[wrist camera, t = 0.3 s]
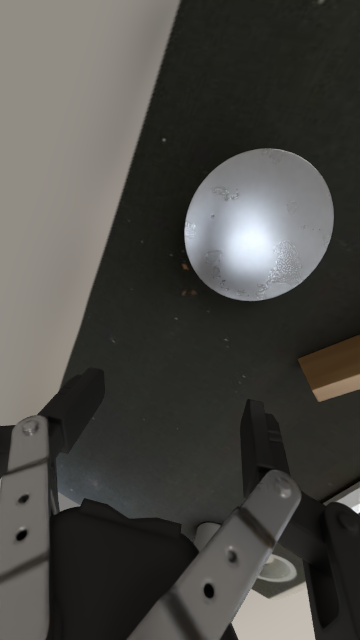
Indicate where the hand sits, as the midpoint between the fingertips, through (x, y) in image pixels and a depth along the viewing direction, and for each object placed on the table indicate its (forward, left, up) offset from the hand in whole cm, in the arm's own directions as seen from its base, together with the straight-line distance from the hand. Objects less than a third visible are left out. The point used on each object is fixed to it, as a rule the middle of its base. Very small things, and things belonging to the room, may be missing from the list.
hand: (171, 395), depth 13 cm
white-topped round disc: (-4, +8, -13) cm, 16 cm away
